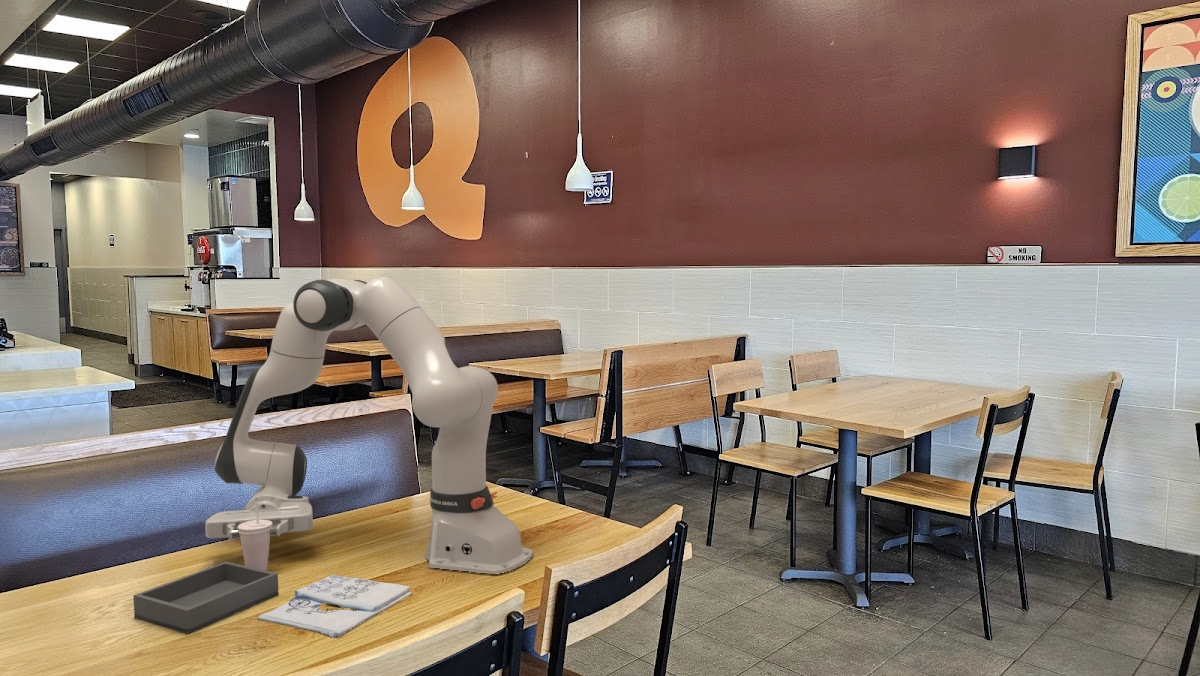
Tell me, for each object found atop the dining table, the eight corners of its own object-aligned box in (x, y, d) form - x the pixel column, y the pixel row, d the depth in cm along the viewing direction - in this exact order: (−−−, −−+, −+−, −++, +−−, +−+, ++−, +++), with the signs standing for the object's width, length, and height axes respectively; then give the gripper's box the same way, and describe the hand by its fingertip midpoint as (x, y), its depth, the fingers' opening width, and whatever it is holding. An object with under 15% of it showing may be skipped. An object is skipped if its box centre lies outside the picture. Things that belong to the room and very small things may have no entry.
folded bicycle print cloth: (414, 596, 144) (414, 585, 144) (336, 643, 126) (335, 629, 125) (334, 581, 152) (334, 570, 152) (249, 622, 133) (248, 610, 133)
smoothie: (261, 579, 151) (258, 508, 150) (231, 577, 152) (229, 506, 151) (281, 567, 157) (278, 499, 156) (252, 565, 158) (250, 497, 157)
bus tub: (278, 594, 144) (277, 573, 143) (188, 634, 128) (187, 610, 127) (226, 581, 150) (225, 561, 150) (134, 618, 134) (133, 595, 134)
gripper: (212, 502, 164) (195, 522, 151) (315, 495, 169) (308, 514, 156) (213, 532, 164) (197, 554, 151) (316, 524, 169) (309, 545, 156)
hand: (254, 533), depth 153 cm, fingers closed on smoothie, 6 cm apart
